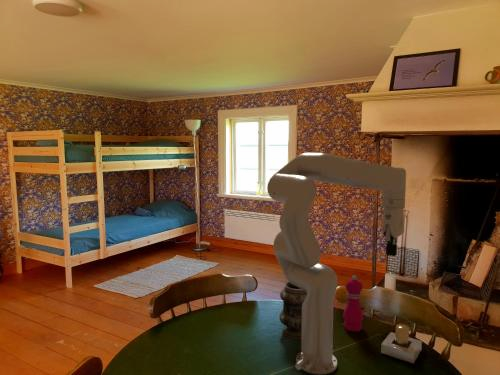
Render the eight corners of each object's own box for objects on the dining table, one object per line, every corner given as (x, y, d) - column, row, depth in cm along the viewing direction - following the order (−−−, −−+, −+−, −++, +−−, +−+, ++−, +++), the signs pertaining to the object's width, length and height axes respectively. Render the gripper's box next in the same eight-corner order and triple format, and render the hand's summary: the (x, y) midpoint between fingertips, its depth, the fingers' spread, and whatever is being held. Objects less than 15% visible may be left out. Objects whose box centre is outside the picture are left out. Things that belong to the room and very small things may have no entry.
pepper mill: (365, 332, 135) (367, 278, 133) (345, 332, 135) (346, 278, 133) (360, 323, 142) (361, 272, 140) (340, 323, 142) (342, 272, 140)
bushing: (406, 355, 119) (407, 331, 119) (393, 351, 122) (394, 327, 121) (408, 349, 123) (410, 326, 122) (396, 345, 125) (397, 323, 124)
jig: (413, 363, 115) (413, 354, 115) (381, 352, 121) (381, 344, 121) (421, 349, 123) (421, 341, 123) (390, 340, 129) (390, 332, 129)
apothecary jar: (302, 344, 126) (302, 293, 125) (272, 334, 134) (272, 285, 132) (318, 330, 136) (319, 283, 134) (290, 321, 143) (290, 276, 141)
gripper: (398, 206, 120) (395, 262, 122) (410, 201, 132) (408, 252, 134) (374, 204, 125) (373, 258, 127) (388, 200, 137) (387, 248, 139)
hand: (391, 254), depth 131 cm, fingers closed
